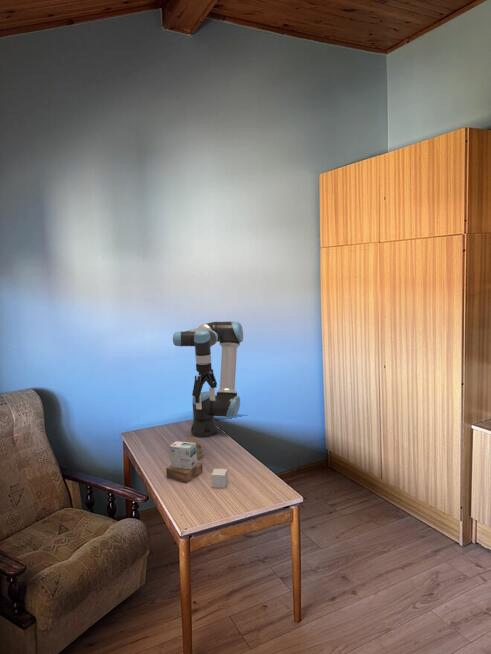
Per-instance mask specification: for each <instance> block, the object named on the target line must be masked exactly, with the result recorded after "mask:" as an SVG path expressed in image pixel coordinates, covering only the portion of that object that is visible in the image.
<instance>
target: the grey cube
mask: <svg viewBox="0 0 491 654" xmlns="http://www.w3.org/2000/svg"><path fill="white" fill-rule="evenodd" d="M228 476H229V475H228V468H214V469H213V471H212V473H211V476H210V479H211V488H216V489H217V488H218V489H226V487H227V485H228V483H229V477H228Z"/></svg>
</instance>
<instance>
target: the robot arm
mask: <svg viewBox="0 0 491 654" xmlns="http://www.w3.org/2000/svg"><path fill="white" fill-rule="evenodd" d="M172 335H173V336H172V343H173V345H174V346H175V347H194V352H195V353H194V354H195V370H196V372H197V373H198V374H197V375H196V374H195V376H194V383H193V389H192V394H191V396H192V403H191V404H192V414H193V420H192V421H193V422H192V426H191V429H190V434H191V435H192V436H193V437H196V438H208V437H212V436H214V435H216V434H218V431H219V430H218V426H217V423H216V420H215V417H223V418H224V417H227V418H228V417H232V418H234V417H236V416H237V415H238V413H239V411H240V406H241V398H240V396H239V395H238V392H237V390H236V371H237V353H238V351H237V350H238V348H239V347H240V345H241V343H242V342H243V341H244V331H243V326H242V324H241V323H240V322H238V321H211V322H208V323H203V324H201V325H199V326H198V327H196V328H192V329H189V330H185V331H181V330H180V331H175V332H174V333H173V334H172ZM217 342H219V346H221V356H220V357H221V358H220V359H221V360H220V377H219V378H220V379H219V390H217V391H216V390H215V389H216V388H217V386H218V383H217V380H216V377H215V374H214V369H213V368H212V355H211V352H212V351H211V349H212V348H211V347H213V346H214V345H215V344H217ZM206 382H207V384H208V386H209V389H208V390H209V391H202V390H203V387H204V385H205V383H206ZM215 391H216V392H215Z"/></svg>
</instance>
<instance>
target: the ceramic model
mask: <svg viewBox="0 0 491 654" xmlns="http://www.w3.org/2000/svg"><path fill="white" fill-rule="evenodd" d="M184 442H190V443H196V455H197V461H199V460H201V459H203V458H204V457H205V454H204V452H203V450H202V444H201V443H200V442H198V441H197V440H196V438H195V436H193V435H192V436H188V437H187V439H185V440H184Z"/></svg>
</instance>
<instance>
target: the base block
mask: <svg viewBox="0 0 491 654" xmlns="http://www.w3.org/2000/svg"><path fill="white" fill-rule="evenodd" d="M165 471H166V472H165V474H166V478H167V479H171V480H174V481H178V482H180V483H184V484H188V483H189V482H191V481H192V480H195V478H197V477H199V476H200V475H201V474H203V473H204V472H203V471H204V470H203V463H201V462H199V461H197V465H196V466H195V467H193V468H192V469H191V470H189V469H181V468H173V467H171V465H169V466H167V467H166V469H165Z"/></svg>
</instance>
